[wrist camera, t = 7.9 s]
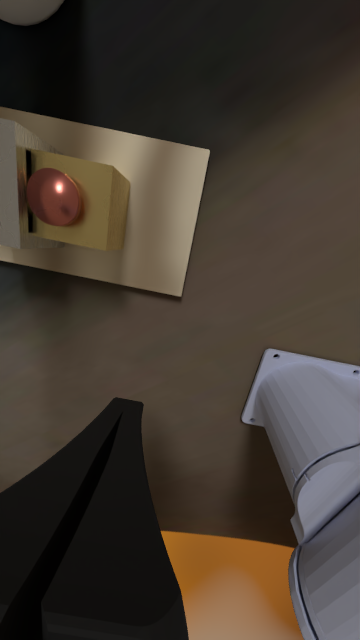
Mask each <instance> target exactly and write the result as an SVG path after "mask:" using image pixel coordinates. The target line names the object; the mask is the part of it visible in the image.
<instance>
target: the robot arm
mask: <svg viewBox="0 0 360 640" xmlns="http://www.w3.org/2000/svg"><path fill="white" fill-rule="evenodd" d="M275 354H278V356H277V357H273V356H274V355H275ZM355 370H356V372H354V371H355ZM353 372H354V373H353ZM143 406H144V404H143V403H142V402H138V401H133V400H128V399H122V398H117V397H116V398H114V399H113V400H112V401H111V402H110V403H109V404H108V406H107V407H106V408H105V409H104V410H103V411H102V412H101V413H100V414H99V415H98V416H97V417H96V418H95V419H94V420H93V421H92V422H91V423H90V424H89V425H88V426H87V427H86V428H85V429H84V430H83V431H82V432H81V433H80V434H78V435H77V436H76V437H75V438H74V439H73V440H72V441H70V442H69V443H68V444H67V445H66V446H65V447H63V448H62V449H61V450H60V451H59V452H57V453H56V454H55V455H54V456H52V457H51V458H50V459H48V460H47V461H46V462H44V463H43V464H42V465H41V466H39V467H38V468H36V469H35V470H34V471H32V472H31V473H29V474H28V475H26V476H25V477H24V478H22V479H21V480H19V481H18V482H16V483H15V484H13V485H12V486H10V487H9V488H7V489H6V490H4V491H3V492H1V493H0V640H189V638H188V630H187V623H186V617H185V612H184V606H183V601H182V595H181V590H180V587H179V584H178V581H177V579H176V576H175V573H174V571H173V568H172V565H171V562H170V559H169V557H168V553H167V550H166V547H165V544H164V541H163V538H162V535H161V531H160V528H159V524H158V521H157V517H156V513H155V510H154V506H153V502H152V498H151V494H150V489H149V485H148V480H147V475H146V469H145V463H144V455H143V446H142V433H141V418H142V412H143ZM241 418H242V421H243V422H244V423H247V424H252V425H257V426H262V427H265V430H266V432H267V435H268V438H269V440H270V443H271V445H272V448H273V451H274V453H275V456H276V458H277V461H278V464H279V466H280V469H281V471H282V474H283V477H284V479H285V482H286V484H287V487H288V490H289V492H290V495H291V497H292V500H293V503H294V505H295V514H294V516H293V517H292V518H291V520H290V521H291V524H292V526H293V529H294V532H295V535H296V538H297V541H298V544H299V545H298V546H297V547H296V548H295V549H294V551H293V552H292V555H291V558H290V562H289V569H288V572H289V573H288V574H289V588H290V595H291V599H292V603H293V608H294V612H295V615H296V618H297V621H298V625H299V628H300V630H301V633H302V635H303V638H304V640H360V366H355V365H350V364H345V363H340V362H335V361H330V360H325V359H320V358H315V357H310V356H305V355H300V354H295V353H290V352H285V351H280V350H275V349H267V350H265V352H264V354H263V356H262V359H261V362H260V365H259V368H258V371H257V373H256V376H255V379H254V382H253V385H252V387H251V390H250V393H249V396H248V399H247V402H246V404H245V407H244V410H243V413H242V416H241ZM251 418H254V419H252V420H250V419H251Z"/></svg>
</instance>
